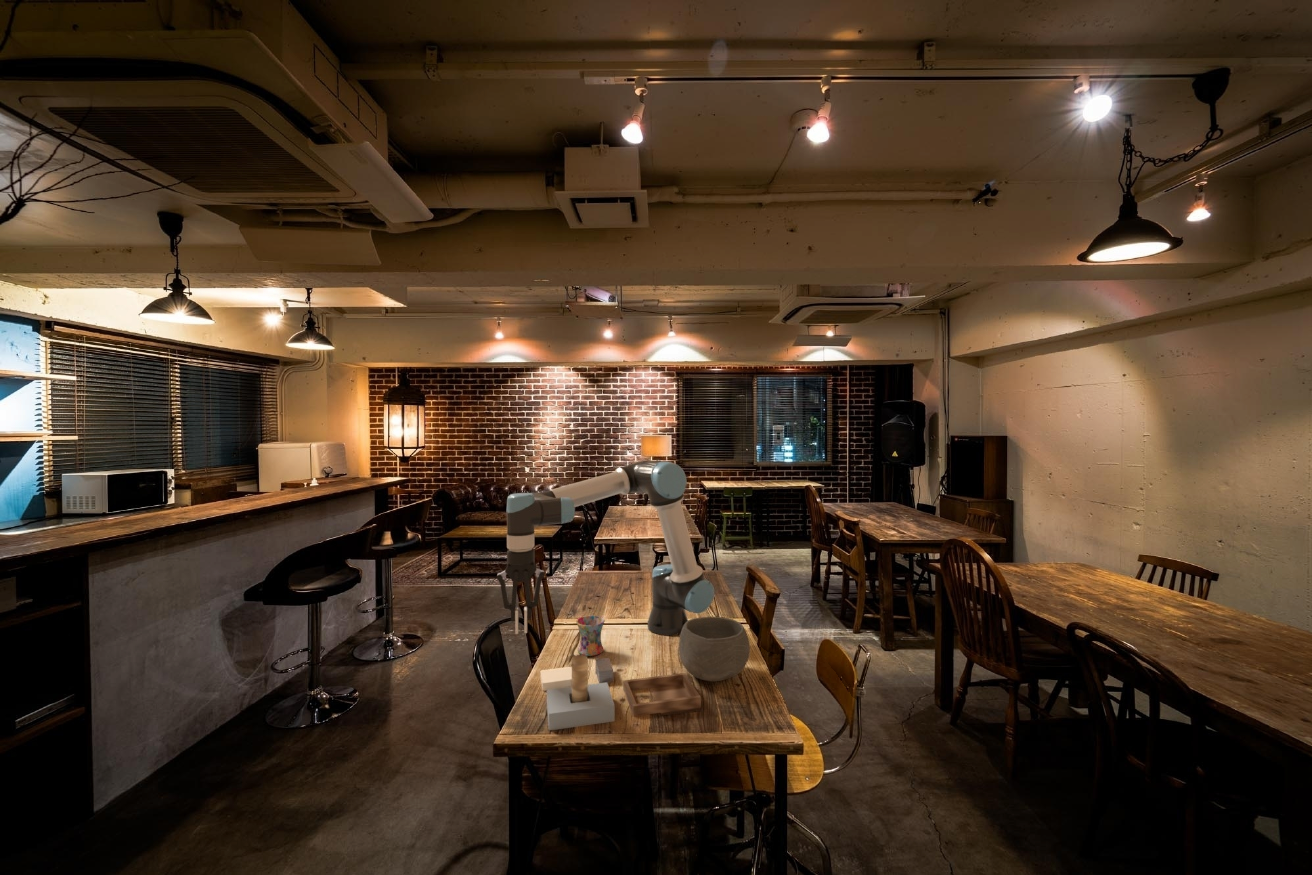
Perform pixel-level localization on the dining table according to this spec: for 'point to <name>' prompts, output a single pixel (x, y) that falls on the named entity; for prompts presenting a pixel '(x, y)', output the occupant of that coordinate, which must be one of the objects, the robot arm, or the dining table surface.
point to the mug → (590, 635)
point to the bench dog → (604, 670)
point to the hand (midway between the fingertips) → (521, 631)
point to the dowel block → (579, 707)
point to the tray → (664, 695)
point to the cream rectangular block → (556, 678)
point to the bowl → (713, 648)
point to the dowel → (579, 679)
